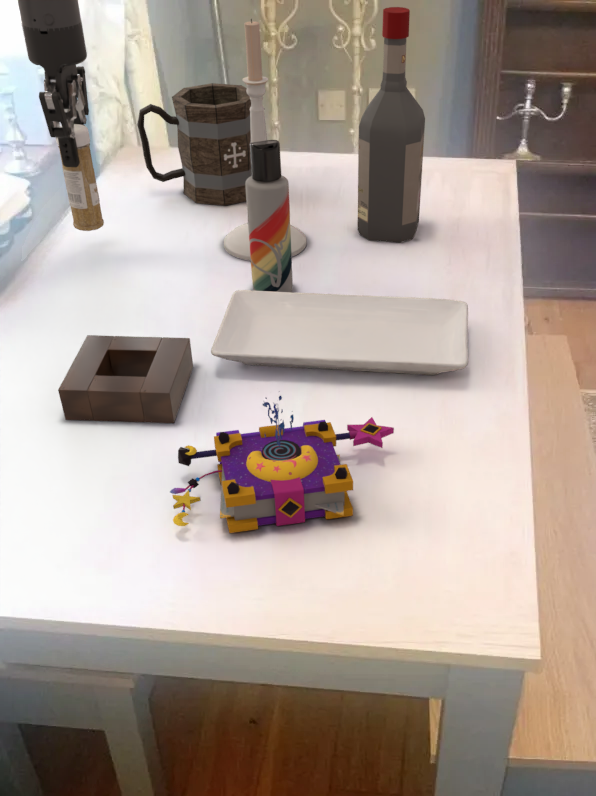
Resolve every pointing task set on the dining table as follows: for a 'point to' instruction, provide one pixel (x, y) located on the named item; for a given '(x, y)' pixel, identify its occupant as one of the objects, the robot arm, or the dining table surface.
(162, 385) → the hollow square block
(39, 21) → the robot arm
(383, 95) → the liquor
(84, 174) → the sprinkles bottle
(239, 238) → the candlestick
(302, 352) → the tray
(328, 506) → the book
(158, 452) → the dining table surface
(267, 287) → the lotion bottle
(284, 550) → the dining table surface
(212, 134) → the mug
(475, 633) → the dining table surface
